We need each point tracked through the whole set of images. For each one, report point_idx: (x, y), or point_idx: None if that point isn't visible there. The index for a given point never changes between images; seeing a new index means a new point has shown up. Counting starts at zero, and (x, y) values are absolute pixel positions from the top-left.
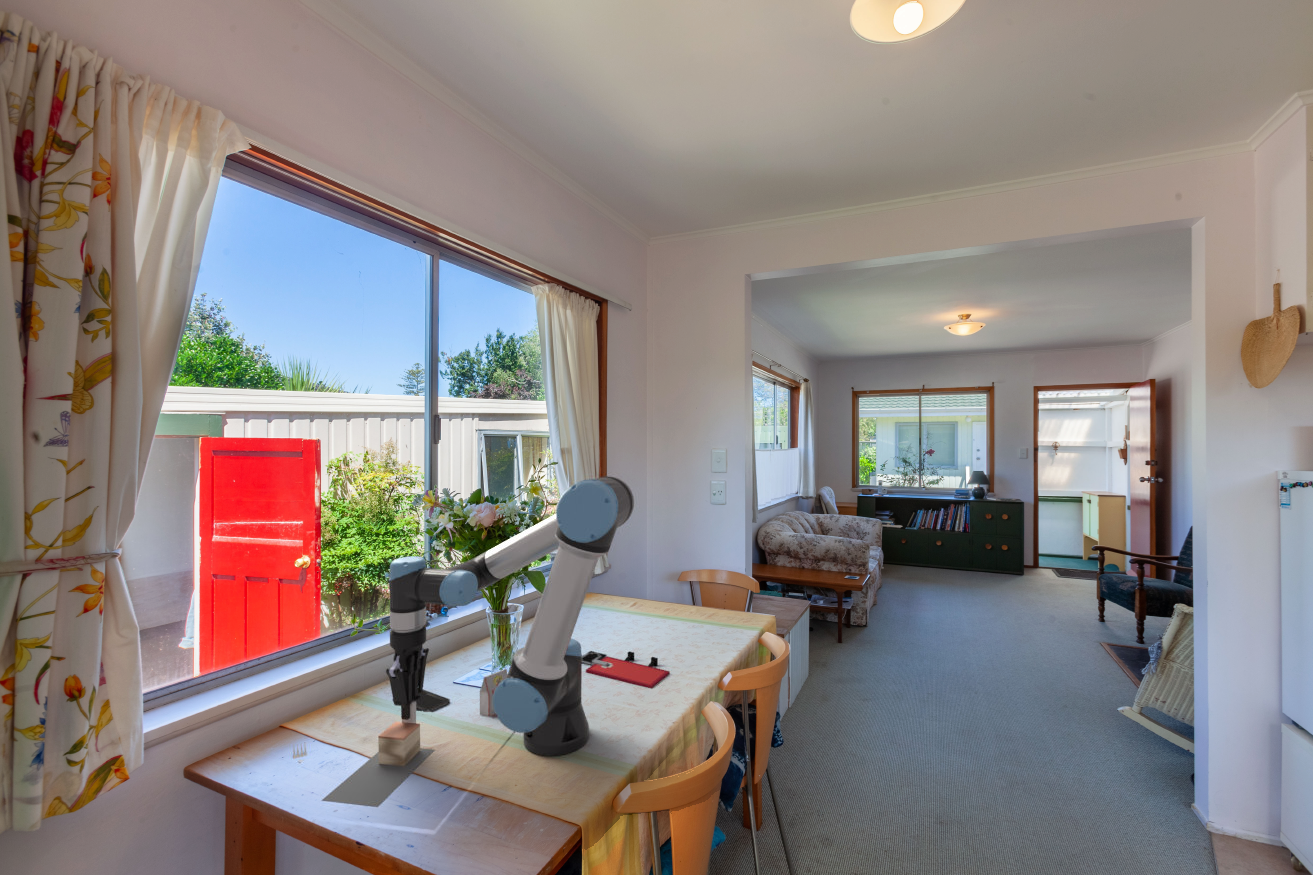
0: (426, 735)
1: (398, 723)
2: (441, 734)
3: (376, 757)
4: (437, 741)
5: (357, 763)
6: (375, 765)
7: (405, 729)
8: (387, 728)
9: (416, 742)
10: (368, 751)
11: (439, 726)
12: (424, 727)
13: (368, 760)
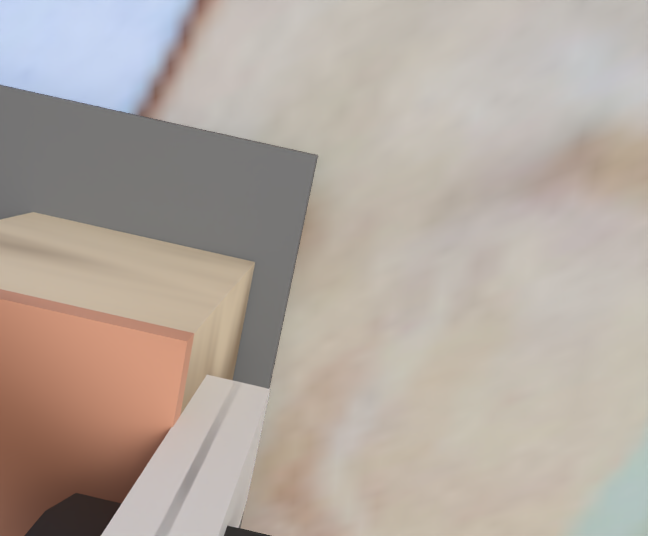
0: (487, 413)
1: (139, 397)
2: (489, 517)
3: (116, 154)
4: (385, 516)
5: (73, 8)
6: (6, 196)
7: (5, 523)
8: (9, 303)
9: None
10: (258, 17)
11: (626, 470)
12: (630, 357)
13: (72, 103)
